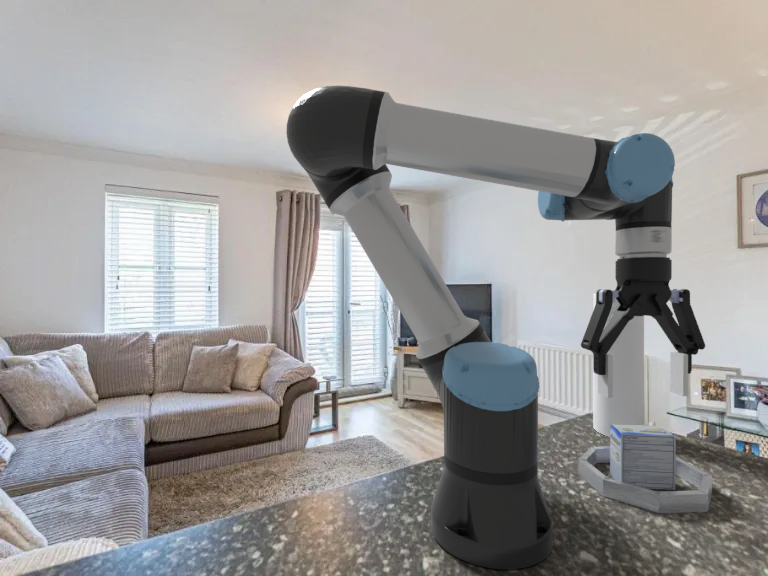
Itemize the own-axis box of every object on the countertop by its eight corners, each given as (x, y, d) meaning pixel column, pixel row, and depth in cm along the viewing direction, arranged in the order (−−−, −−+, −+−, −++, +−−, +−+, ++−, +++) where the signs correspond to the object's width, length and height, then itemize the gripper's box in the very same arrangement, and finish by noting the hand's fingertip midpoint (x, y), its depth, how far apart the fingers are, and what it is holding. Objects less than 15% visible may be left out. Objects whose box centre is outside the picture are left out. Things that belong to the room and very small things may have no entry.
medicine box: (660, 478, 67) (660, 425, 67) (676, 491, 63) (676, 435, 63) (609, 475, 68) (609, 423, 68) (621, 488, 64) (621, 433, 64)
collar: (623, 514, 57) (624, 496, 57) (563, 461, 74) (563, 447, 74) (742, 510, 58) (742, 492, 58) (655, 458, 75) (655, 445, 75)
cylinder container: (604, 421, 95) (604, 290, 94) (650, 432, 88) (651, 291, 87) (585, 430, 89) (585, 291, 88) (633, 443, 82) (633, 292, 81)
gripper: (582, 255, 61) (581, 402, 61) (736, 255, 62) (735, 399, 62) (558, 258, 68) (557, 389, 69) (695, 258, 70) (695, 387, 70)
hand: (642, 394), depth 66 cm, fingers open, 11 cm apart
